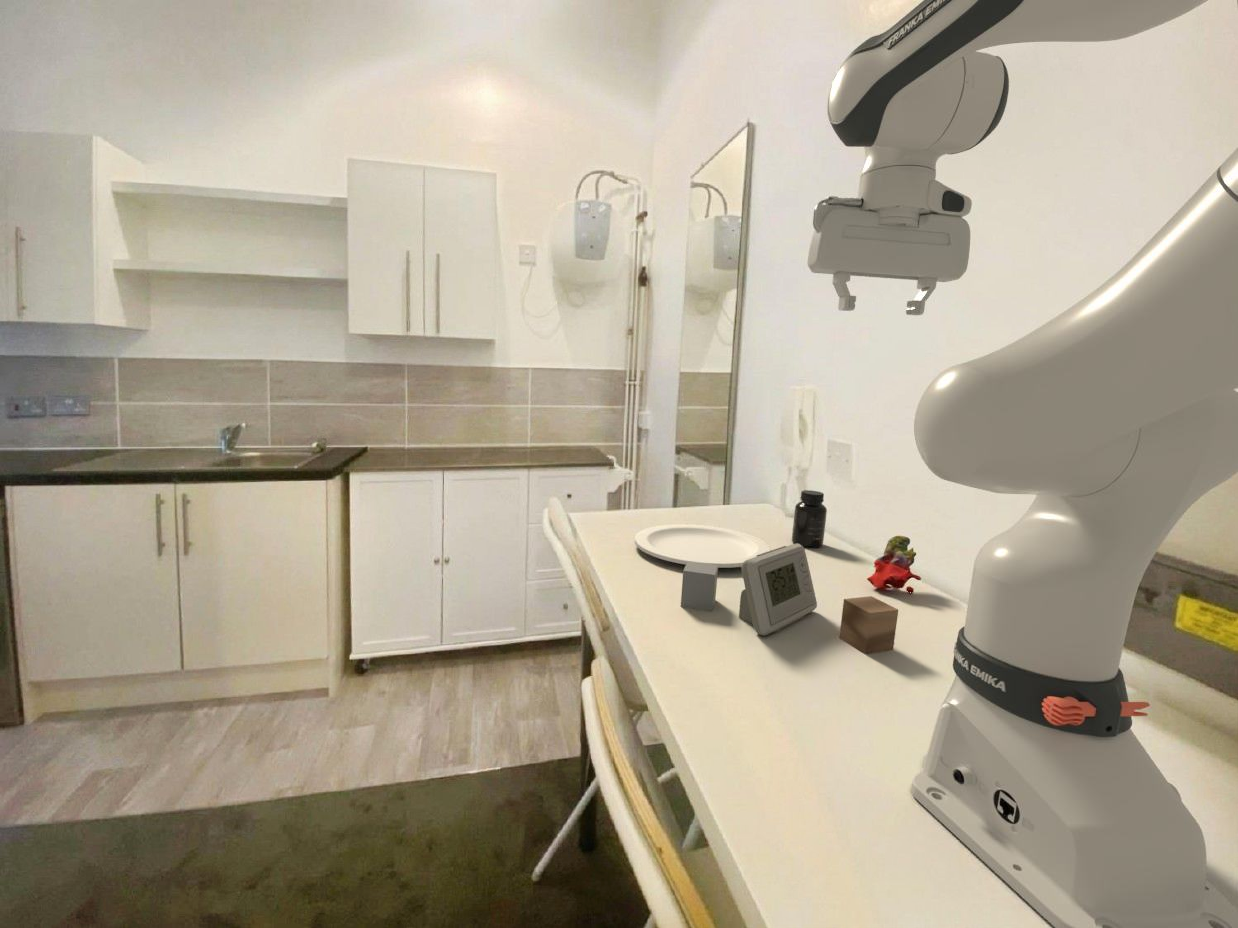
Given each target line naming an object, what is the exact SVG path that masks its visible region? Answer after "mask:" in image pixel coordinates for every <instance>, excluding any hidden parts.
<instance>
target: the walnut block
mask: <svg viewBox="0 0 1238 928" xmlns="http://www.w3.org/2000/svg"><path fill="white" fill-rule="evenodd" d="M898 616H899V609H898V608H896V607H893V606H892V605H890V604H887V603H886V602H884V601H882V600H880V599H878V598H876V597H874V596H871V595H869V596H862V597H861V596H859V597H853V598H844V599H843V604H842V611H841V621H840V622H841V623H840V630H839V637H838V638H839V640H841V641H843V642H845V643H846V644H847V645H849V646H851V647H852V648H853V649H856V650H857V651H859V652H860V653H862V655H863V654H864V655H869V654H878V653H882V652H890V651H894V645H895V637H896V630H897V623H898Z"/></svg>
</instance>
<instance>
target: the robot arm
mask: <svg viewBox="0 0 1238 928" xmlns="http://www.w3.org/2000/svg"><path fill="white" fill-rule="evenodd" d="M1207 1H1209V0H923V1H921V2H920V3H919V4H918V5H916V6H914V8H912V9H911V10H910V11H909V12H908V13H907V14H906V15H904V16H903V17H902V18H900V20H899V21H897V22H896V23H895V24H894V25H892V26H891V27H890V28H889V29H886V31H884V32H882V33H880V34H877V35H873V36H871V37H869V38H868V39H866V40H864V41H863V42H861V44H860V45H858V46H857V47H856V48H855V49H853V51H851V53H850V54H849V55H848V56H847V57H846V58H845V59H844V60H843V62H842V63H841V64H840V65H839V67H838V69H837V70H836V71H837V72H836V73H835V75H834V77H833V80H832V82H831V86H830V90H829V93H828V98H827V103H826V104H827V105H826V109H827V118H828V120H829V123H830V126H831V127H832V129H833V131H834V133H835V134H836V135H837V137H838V139H839V140H840V142H842V144H843V145H844V146H845V147H847V148H848V147H851V148H852V147H853V148H855V147H856V148H858V147H859V148H860V147H863V149H864V154H865V155H864V156H865V159H864V165H863V168H862V170H861V173H860V175H859V183H858V191H857V193H858V194H857V197H838V196H836V195H834V196H827V197H826V199H823V200H820V201H819V202H818V203H816V206H815V207H814V211H813V216H812V217H813V218H812V226H813V232H812V236H811V240H810V241H811V242H810V246H809V250H808V256H807V266H808V269H809V270H810V271H811V272H812V273H813V274H822V275H823V274H824V275H825V274H827V275H832V285H833V288H834V290H835V292H836V294H837V296H838V306H837V308H838V310H839V311H848V312H851V311H855V309H856V304H855V303H856V302H857V295H851V293H850V290H849V288H848V284H847V283H848V282H850V281H851V276H854V277H866V278H880V279H881V278H882V279H894V280H895V279H897V280H909V281H910V280H911V281H916V283H917V284H916V289H918V290H919V292H918V293H917V294H916V296H915V298H914V299H913V300H909V301H906V310H905V315H906V316H907V315H909V316H922V315H923V314H924V312H925V306H926V302H927V301H928V299H929V298H930V297H931V294H932V293H933V292H934V291H935V289H936V287H937V283H938V282H939V283H947V282H952V281H956V280H960V279H961V278H962V277H963V276H964V274H965V273H966V272H967V269H968V266H969V265H968V264H969V259H970V249H971V228H970V224H969V223H968V221H967V220H966V219H965V216H967V215H969V214H970V212H971V210H972V205H973V203H972V199H971V198H970V197H969V196H967V195H966V194H964V193H961V192H958V191H957V190H955V189H953V188H950V187H948V186H947V185H945V184H944V183H942V182H940V181H938V180H937V179H936V176H937V170H936V169H937V168H936V165H937V161H938V160H939V158H941V157H942V156H945V155H954V154H955V155H956V154H959V153H963V152H967V151H969V150H972V149H973V148H974V147H976V146H978V145H979V144H981V143H982V142H983V141H984V140H985V139H987V137H989V136H990V135H991V134H992V133H993V131H995V129H996V128H997V127H998V125H999V124H1000V122H1001V120H1002V118H1003V116H1004V113H1005V112H1006V111H1005V110H1006V107H1007V103H1008V96H1009V92H1010V89H1009V88H1010V78H1009V72H1008V68H1007V67H1006V64H1005V62H1004V60H1003V59H1002V58H1001V57H1000V56H999V55H993V54H990V53H987V52H981V51H979V50H983V49H987V48H993V47H997V46H1001V45H1011V44H1020V43H1021V44H1024V43H1041V42H1042V43H1045V42H1046V43H1047V42H1048V43H1049V42H1051V43H1053V42H1057V43H1058V42H1060V43H1061V42H1062V43H1075V42H1076V43H1081V42H1082V43H1089V42H1091V43H1093V42H1094V43H1095V42H1097V43H1098V42H1099V43H1100V42H1109V41H1110V42H1111V41H1117V40H1121V39H1127V38H1130V37H1133V36H1135V35H1138V34H1141V33H1143V32H1146V31H1149V30H1151V29H1153V28H1156V27H1158V26H1159V27H1160V26H1161V25H1163V24H1166V23H1168V22H1171V21H1172V20H1175V19H1177V18H1179V17H1181V16H1183V15H1185V14H1186V13H1189V12H1191V11H1193V10H1194V9H1196V8H1198V7H1199V6H1201V5H1202V4H1204V3H1206V2H1207ZM963 217H964V218H963ZM1236 389H1238V147H1236V149H1235V150H1234V151H1233V152H1232V153H1231V154H1230V155H1229V156H1228V157H1227V158H1226V159H1225V161H1223V162H1222V164H1221V165H1220V166H1219V167H1218V168H1217V169H1216V170H1215V171H1214V172H1213V173H1212V175H1210V176H1209V177H1208V179H1207V180H1205V182H1204V183H1203V184H1202V185H1201V186H1200V187H1199V188H1198V190H1197V191H1196V192H1194V194H1193V195H1192V196H1191V197H1190V198H1189V199H1188V200H1187V201H1186V202H1185V203H1184V204H1183V205H1182V206H1181V207H1180V209H1178V210H1177V212H1175V213H1174V215H1173V216H1172V217H1171V218H1170V219H1169V220H1168V221H1167V222H1166V223H1165V224H1164V225H1163V226H1162V227H1161V228H1160V229H1159V231H1157V232H1156V233H1155V234H1154V235H1153V236H1152V237H1151V239H1150V240H1148V242H1147V243H1146V244H1145V245H1144V246H1142V247H1141V249H1140V250H1139V251H1138V252H1137V253H1136V254H1135V255H1134V256H1133V257H1132V258H1131V259H1130V260H1129V261H1128V262H1127V263H1126V264H1125V265H1124V266H1122V268H1121V269H1119V270H1118V271H1117V272H1115V274H1114V275H1112V276H1111V277H1110V278H1108V279H1107V280H1106V281H1105V282H1104V283H1102V284H1101V285H1100V286H1098V287H1097V288H1096V289H1094V290H1093V291H1092V292H1090V293H1089V294H1087V295H1086V296H1085V297H1083V298H1082V299H1080V300H1079V301H1077V302H1076V303H1074V304H1073V305H1072V306H1070V307H1069V308H1067V309H1066V310H1065V311H1063V312H1061V313H1060V314H1058V315H1057V316H1055V317H1053V318H1052V319H1050V320H1048V321H1047V322H1046V323H1044V324H1042V325H1041V326H1039V327H1038V328H1035V329H1034V330H1033V331H1031V332H1029V333H1027V334H1025V336H1022V337H1021V338H1019V339H1017V340H1015V341H1013V342H1012V343H1009V344H1008V345H1006V346H1005V345H1004V346H1003V347H1001V348H999V349H997V350H995V351H993V352H990V353H988V354H985V355H983V356H980V357H978V358H975V359H971V360H967V361H966V362H963V363H959V364H956V365H952V366H950V367H948V368H946V369H944V370H943V371H941V372H940V373H939V374H938V375H937V376H935V378H934V379H933V380H932V381H931V383H929V385H928V386H927V388H926V389H925V391H924V392H923V394H922V396H921V397H920V400H919V402H918V404H917V407H916V410H915V414H914V420H913V421H914V422H913V432H914V440H915V445H916V448H917V451H918V453H919V455H920V457H921V459H922V461H923V462H924V464H925V465H926V466H927V467H928V469H929V470H930V472H932V474H934V475H935V476H937V478H940V479H942V480H944V481H947V482H951V483H954V484H958V485H962V486H965V487H969V488H975V489H978V490H982V491H986V492H987V491H988V492H992V493H994V494H995V493H996V494H1003V495H1004V494H1007V495H1034V496H1035V495H1036V496H1035V497H1034V500H1033V501H1032V502H1031V504H1030V506H1029V508H1028V509H1027V510H1026V512H1025V513H1024V514H1023V515H1022V516H1021V517H1020V519H1019V520H1018V521H1016V522H1015V524H1013V525H1012V526H1011V527H1009V528H1007V529H1006V530H1004V531H1003V532H1001V533H999V534H997V535H996V536H994V537H992V538H990V539H989V540H988V541H987V542H986V543H985V544H983V546H982V547H981V548H980V549H979V551H978V553H977V554H976V556H975V559H974V561H973V562H974V563H973V568H972V569H973V570H972V576H971V581H970V583H971V584H970V588H969V589H970V590H969V596H968V601H967V602H968V603H967V608H966V609H967V610H966V615H965V622H964V626H962V627H961V628H960V629H959V630H958V633H957V638H956V641H955V642H954V647H953V661H952V668H953V671H954V674H955V676H954V680H953V682H952V684H951V687H950V688H949V691H948V693H947V694H946V696H945V698H944V700H943V702H942V703H941V705H940V708H939V711H938V714H937V718H936V721H935V724H934V728H933V731H932V734H931V738H930V742H929V746H928V749H927V753H926V754H925V756H924V758H923V761H922V769H921V770H920V771H919V772H917V774H916V775H915V776H914V777H913V779H912V783H911V785H910V793H911V795H912V796H913V797H914V799H916V800H917V801H918V802H919V803H920V804H921V805H922V806H923V807H925V808H926V809H927V810H928V811H929V812H930V813H931V814H932V815H933V816H934V817H935V818H936V819H937V820H939V822H940V823H942V824H943V825H944V826H945V827H946V828H947V829H948V830H950V832H951V833H952V834H954V835H955V837H957V839H959V840H960V841H961V842H962V843H963V844H964V845H965V846H967V848H968V849H970V850H971V851H972V852H973V853H974V854H975V855H976V856H977V857H978V858H979V859H981V861H982V862H984V863H985V864H986V865H987V866H988V867H989V868H990V869H992V871H993V872H995V874H997V876H999V877H1000V878H1001V879H1002V880H1003V881H1004V882H1005V883H1006V884H1008V885H1009V886H1010V887H1011V888H1012V889H1013V890H1014V891H1015V892H1016V893H1018V895H1019V896H1021V897H1022V898H1023V899H1024V901H1026V902H1027V903H1028V904H1029V905H1030V906H1031V907H1032V908H1033V909H1035V910H1036V911H1037V913H1039V915H1041V916H1042V917H1043V918H1044V919H1046V921H1047V922H1048V923H1049V924H1051V925H1052V926H1053V927H1054V928H1238V909H1237V908H1236V907H1235V906H1234V905H1233V904H1232V903H1231V902H1230V901H1229V900H1228V899H1227V898H1226V897H1225V896H1224V895H1223V894H1222V893H1221V892H1220V891H1219V890H1218V889H1217V888H1216V887H1215V886H1214V885H1213V884H1212V883H1211V882H1209V880H1208V879H1207V848H1206V847H1207V846H1206V840H1205V837H1204V834H1203V830H1202V828H1201V826H1200V824H1199V823H1198V821H1197V820H1196V819H1195V817H1194V816H1193V815H1192V813H1191V812H1190V811H1189V808H1188V807H1187V806H1186V805H1185V804H1184V802H1183V801H1182V797H1181V794H1180V793H1179V791H1178V789H1177V788H1176V787H1175V786H1174V785H1173V784H1172V783H1171V782H1168V780H1167V779H1166V777H1165V776H1164V775H1163V772H1162V771H1161V769H1159V768H1158V765H1157V764H1156V762H1154V760H1153V759H1152V758H1151V756H1150V755H1149V754H1148V752H1147V750H1146V749H1145V747H1144V746H1143V745H1142V744H1141V742H1140V740H1139V739H1138V738H1137V736H1136V735H1135V733H1134V731H1133V730H1132V726H1133V719H1132V718H1133V717H1148V716H1149V715H1148V713H1147V712H1143V711H1140V710H1142V709H1146V708H1150V706H1151V704H1150V703H1149V702H1147V701H1129V696H1128V691H1127V687H1126V682H1125V678H1124V677H1125V676H1124V674H1123V672H1122V670H1121V668H1120V664H1121V658H1122V654H1123V649H1124V644H1125V640H1126V639H1125V638H1126V635H1127V631H1128V627H1129V622H1130V620H1131V619H1130V618H1131V615H1132V611H1133V606H1134V602H1135V598H1136V595H1137V592H1138V589H1139V586H1140V584H1141V582H1142V580H1143V577H1144V575H1145V573H1146V570H1147V569H1148V567H1149V565H1150V563H1151V561H1152V560H1153V557H1155V555H1156V553H1157V552H1158V550H1159V548H1160V547H1161V545H1162V544H1163V542H1164V540H1165V539H1166V538H1167V537H1168V535H1169V533H1170V532H1171V531H1172V529H1173V528H1174V527H1175V526H1176V524H1177V523H1178V522H1179V521H1180V519H1181V518H1182V517H1183V515H1184V514H1185V513H1186V512H1187V511H1188V510H1189V509H1190V508H1191V507H1192V506H1193V504H1195V503H1196V502H1197V501H1198V500H1199V499H1200V498H1201V497H1203V496H1204V495H1206V494H1207V493H1208V492H1210V491H1211V490H1212V489H1215V488H1217V487H1218V486H1220V485H1221V484H1223V483H1224V482H1225V483H1226V481H1228V480H1230V479H1231V478H1232V477H1233V476H1234V475H1236V474H1237V473H1238V391H1237V390H1236ZM1137 710H1138V711H1137Z"/></svg>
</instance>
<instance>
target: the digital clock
mask: <svg viewBox="0 0 1238 928" xmlns="http://www.w3.org/2000/svg"><path fill="white" fill-rule="evenodd" d="M807 557H808V556H807V553H806V548H805V547H803V546H801V545H800V544H798V543H797V544H794V543H793V544H789V545H783V546H780V547H777V548H774V549H772V550H771V551H768V552H765V553H762V554H759V555H757V556H756V557H754V558H751V559H748V560H746V561H744V562H743V563H742V565H741V567H740V568H741V574H742V579H743V584H744V588H745V589H742V591H741V594H740V600H739V612H738V618H739V619H740V620H743V621H745V622H748V623H751V624H752V625H753V629H754V631H755V632H756V633H757V634H758V636H759V635H760V636H768V635H770V634H772V633H773V632H774V633H776V632H778V631H780V630H781V629H783V628H786V627H788V626H789V625H792V624H793V623H796V622H797V621H799V620H801V619H803V618H804V617H805V616H806V615H808V614H810V613H812V612H813V611H815V610H817V607H818V603H817V598H816V592H815V588H814V585H813V579H812V576H811V571H810V567H809V561H808V558H807Z"/></svg>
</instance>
